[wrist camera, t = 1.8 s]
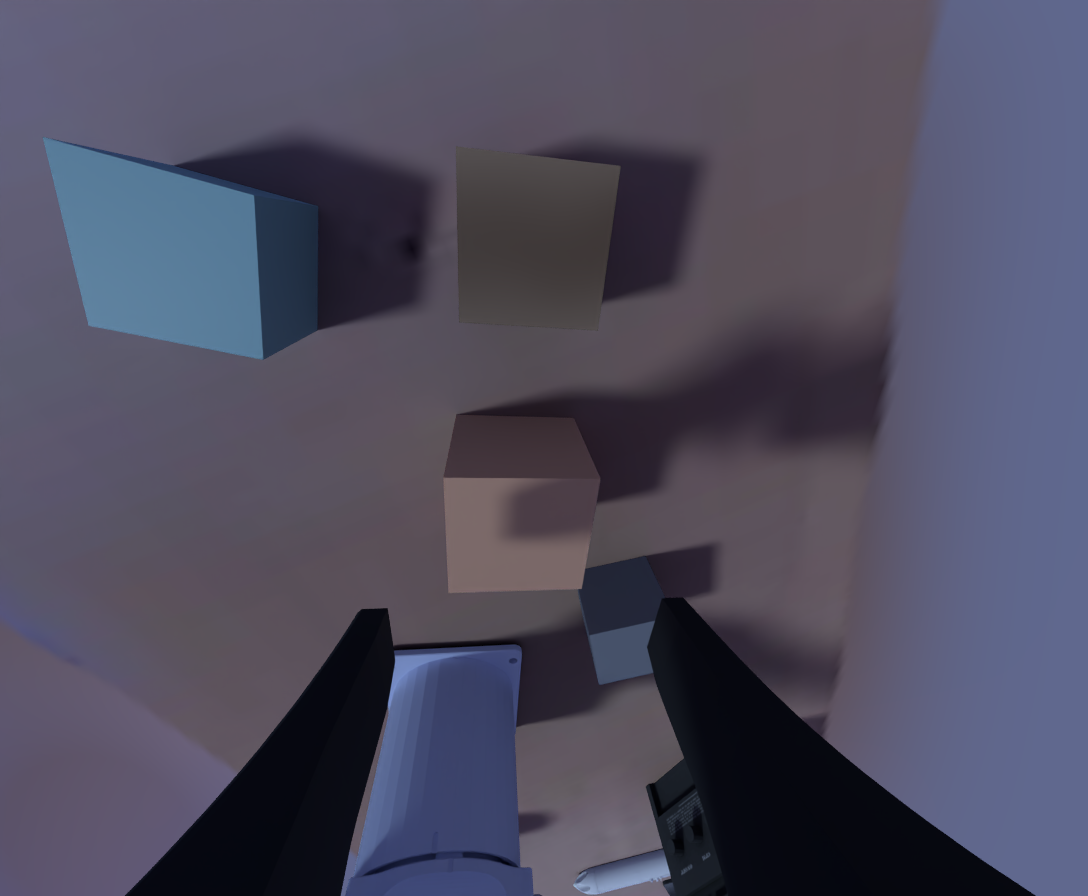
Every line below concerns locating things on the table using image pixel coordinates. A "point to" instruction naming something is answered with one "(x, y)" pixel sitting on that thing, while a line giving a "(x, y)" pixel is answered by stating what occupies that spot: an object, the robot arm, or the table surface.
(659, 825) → the geiger counter
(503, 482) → the terracotta block
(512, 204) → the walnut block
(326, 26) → the table surface
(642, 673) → the charcoal block
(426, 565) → the table surface
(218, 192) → the dull teal block
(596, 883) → the marker
